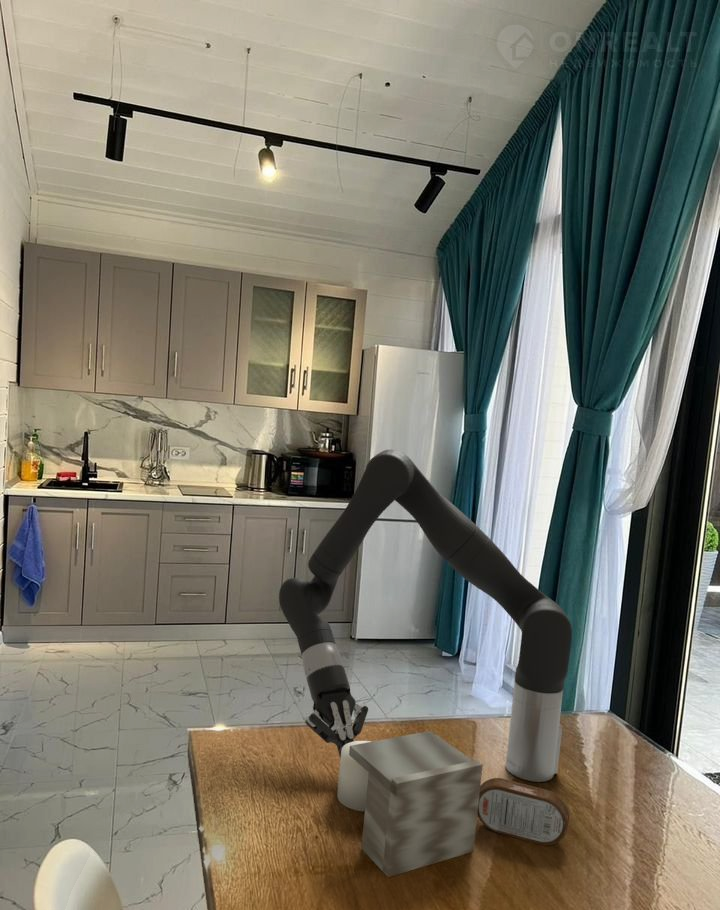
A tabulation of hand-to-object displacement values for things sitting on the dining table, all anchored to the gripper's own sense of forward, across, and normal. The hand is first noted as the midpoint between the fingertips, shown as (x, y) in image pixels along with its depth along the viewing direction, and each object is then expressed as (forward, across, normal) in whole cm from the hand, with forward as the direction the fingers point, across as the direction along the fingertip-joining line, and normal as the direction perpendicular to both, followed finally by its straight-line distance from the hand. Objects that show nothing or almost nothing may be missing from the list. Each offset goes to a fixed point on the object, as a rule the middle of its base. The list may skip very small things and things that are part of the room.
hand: (350, 762), depth 131 cm
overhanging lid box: (+15, 0, -10) cm, 18 cm away
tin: (+20, +18, -14) cm, 31 cm away
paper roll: (+6, 0, -1) cm, 6 cm away
